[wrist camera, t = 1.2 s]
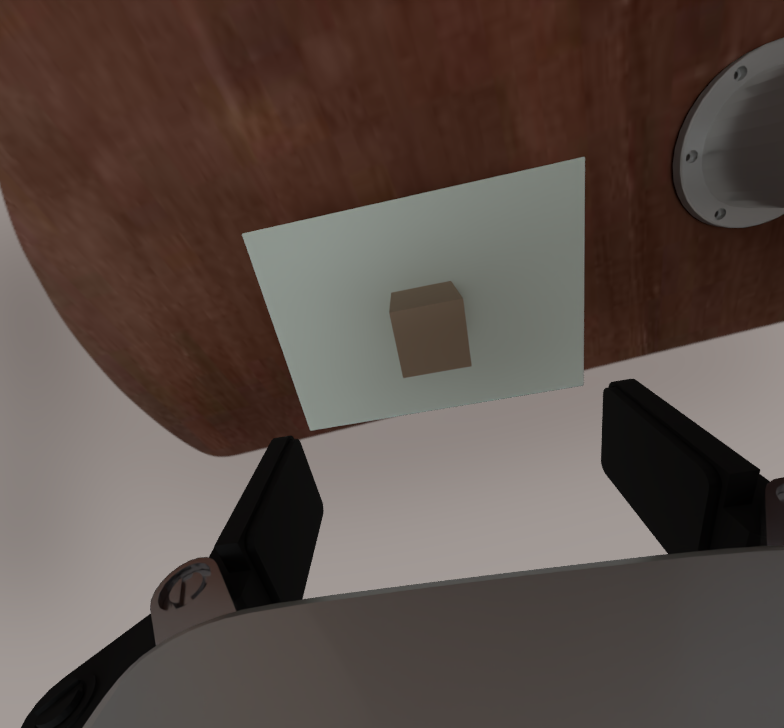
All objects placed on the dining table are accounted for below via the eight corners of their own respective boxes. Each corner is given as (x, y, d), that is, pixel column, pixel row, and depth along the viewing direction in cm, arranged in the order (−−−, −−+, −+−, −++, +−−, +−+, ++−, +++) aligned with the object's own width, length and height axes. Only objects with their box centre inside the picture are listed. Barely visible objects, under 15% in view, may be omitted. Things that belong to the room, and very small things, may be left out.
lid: (578, 158, 21) (637, 142, 16) (578, 380, 27) (621, 422, 22) (246, 233, 23) (201, 240, 18) (312, 425, 29) (293, 473, 24)
